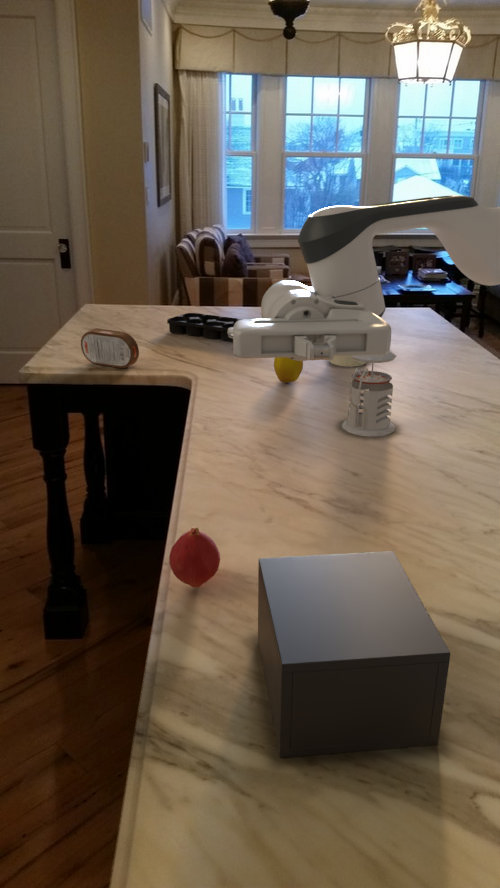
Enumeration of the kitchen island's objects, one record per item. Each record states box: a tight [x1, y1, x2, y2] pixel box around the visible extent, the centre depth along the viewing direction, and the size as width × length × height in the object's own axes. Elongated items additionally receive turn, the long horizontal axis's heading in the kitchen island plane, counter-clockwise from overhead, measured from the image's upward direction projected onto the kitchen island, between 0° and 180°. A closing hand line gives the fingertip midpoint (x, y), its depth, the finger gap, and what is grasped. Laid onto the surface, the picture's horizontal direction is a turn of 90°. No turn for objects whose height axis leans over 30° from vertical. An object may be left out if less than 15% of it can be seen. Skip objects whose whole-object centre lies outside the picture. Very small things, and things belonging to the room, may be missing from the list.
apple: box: [273, 357, 304, 384], centre depth 154 cm, size 6×6×8 cm
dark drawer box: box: [257, 550, 451, 759], centre depth 65 cm, size 16×14×10 cm
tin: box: [80, 327, 140, 369], centre depth 165 cm, size 15×3×8 cm, turn 65°
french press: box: [341, 349, 397, 437], centre depth 125 cm, size 10×12×25 cm
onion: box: [168, 526, 221, 589], centre depth 81 cm, size 6×6×8 cm
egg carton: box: [166, 312, 243, 342], centre depth 195 cm, size 18×30×4 cm, turn 72°
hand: (321, 353), depth 84 cm, fingers closed
